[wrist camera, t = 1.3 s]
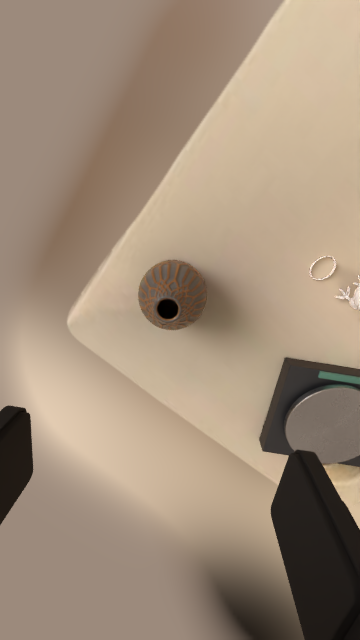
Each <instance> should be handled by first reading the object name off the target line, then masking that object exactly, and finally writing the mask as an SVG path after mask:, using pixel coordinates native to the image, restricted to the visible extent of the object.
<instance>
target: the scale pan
mask: <svg viewBox="0 0 360 640" xmlns="http://www.w3.org/2000/svg"><path fill="white" fill-rule="evenodd" d="M284 432H285V436H286V438H287V441H288V443H289V445H290V446H291V448H292V449H293V450H294V451H295V450H297V449H298V450H305V451H312V452H314V453H316V455H317V456H318V458H319V460H320V462H321V463H338V462H343V461H347V460H350V459H353V458H355V457H357V456H359V455H360V389H358V388H356V387H353V386H348V385H341V384H335V385H326V386H322V387H318V388H315V389H313V390H311V391H308V392H307V393H305V394H303V395H302V396H301V397H299V398H298V399H297V400H296V401H295V402H294V403H293V404H292V406H291V407H290V408H289V410H288V412H287V414H286V416H285V420H284Z"/></svg>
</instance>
